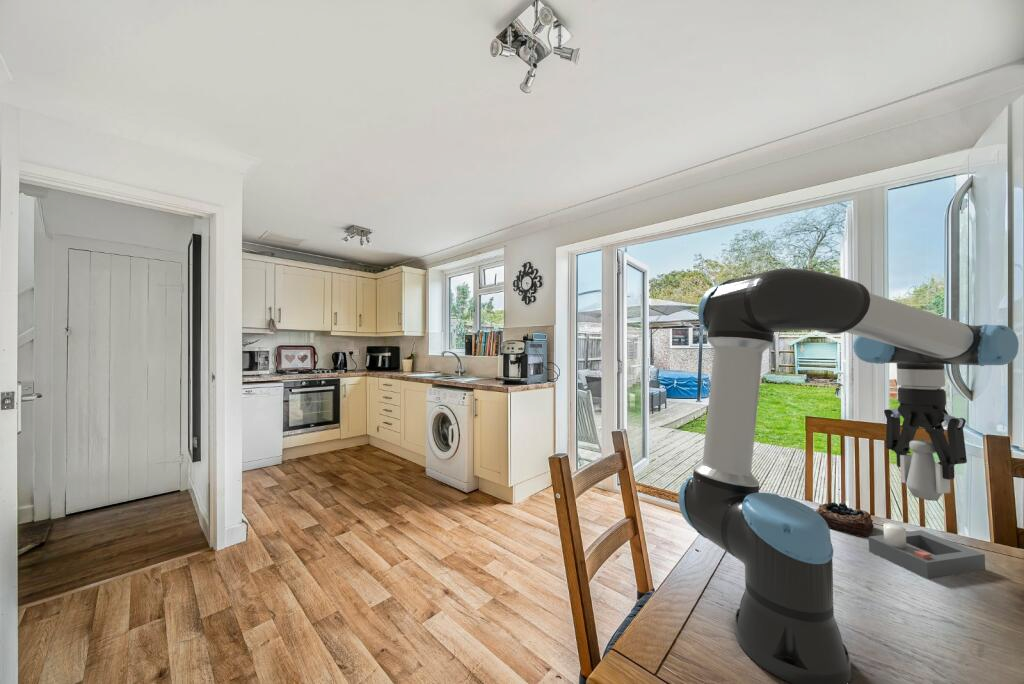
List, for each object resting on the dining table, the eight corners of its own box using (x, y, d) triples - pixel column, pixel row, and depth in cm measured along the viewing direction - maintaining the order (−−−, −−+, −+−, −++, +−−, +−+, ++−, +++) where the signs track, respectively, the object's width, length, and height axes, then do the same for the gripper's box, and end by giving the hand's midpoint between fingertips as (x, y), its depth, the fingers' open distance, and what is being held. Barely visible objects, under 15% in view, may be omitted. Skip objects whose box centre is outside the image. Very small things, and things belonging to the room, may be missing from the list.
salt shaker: (952, 503, 82) (950, 444, 82) (921, 501, 83) (919, 443, 83) (928, 493, 87) (926, 438, 88) (900, 491, 89) (897, 437, 89)
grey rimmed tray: (927, 579, 78) (926, 543, 78) (869, 551, 89) (867, 520, 89) (985, 570, 81) (983, 535, 81) (921, 544, 91) (920, 513, 92)
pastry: (870, 541, 94) (870, 518, 94) (811, 524, 103) (810, 503, 103) (875, 527, 101) (874, 505, 101) (819, 512, 110) (818, 493, 110)
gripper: (991, 391, 77) (996, 502, 76) (886, 383, 96) (889, 472, 95) (964, 392, 76) (968, 505, 75) (862, 384, 94) (866, 474, 94)
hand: (924, 487), depth 85 cm, fingers closed on salt shaker, 6 cm apart
